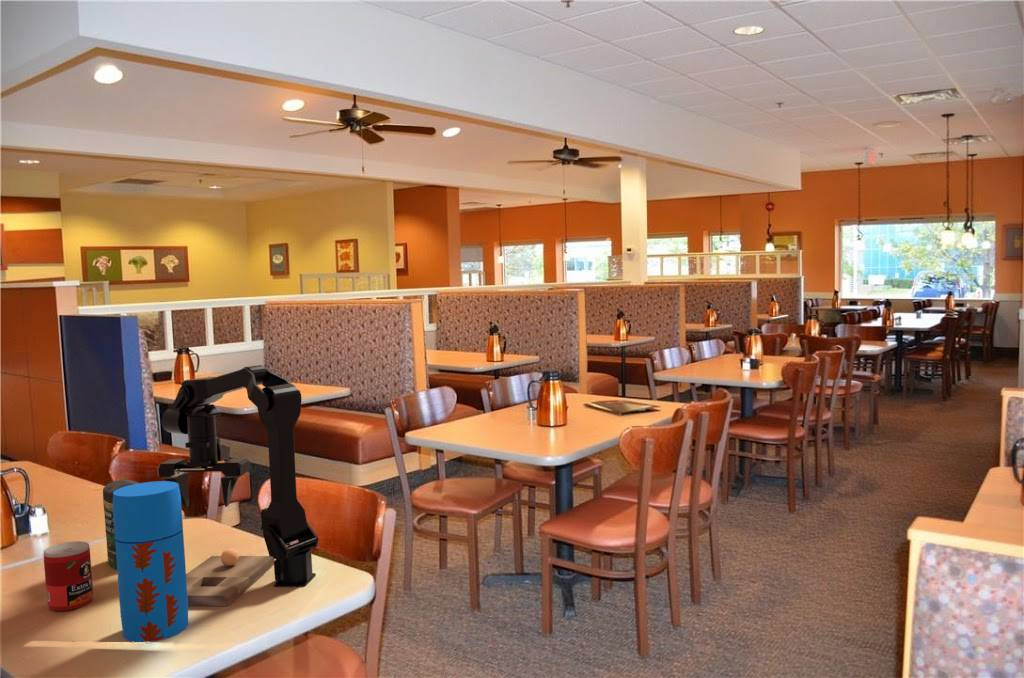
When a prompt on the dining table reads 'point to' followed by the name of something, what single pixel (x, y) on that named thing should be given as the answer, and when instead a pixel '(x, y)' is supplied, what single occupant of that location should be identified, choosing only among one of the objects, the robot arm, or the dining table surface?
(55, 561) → the canned food
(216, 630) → the dining table surface
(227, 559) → the ball
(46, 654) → the dining table surface
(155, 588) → the thermos
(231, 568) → the board
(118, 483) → the coffee jar
